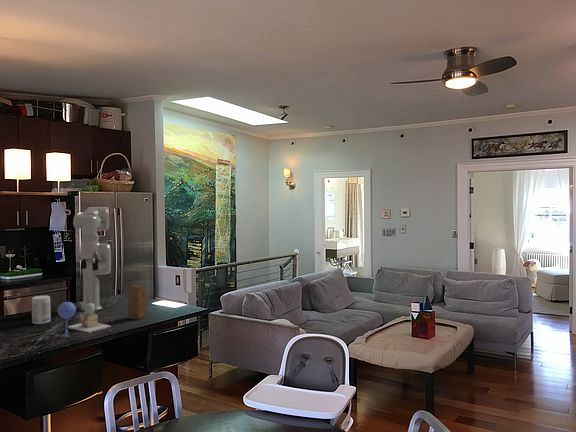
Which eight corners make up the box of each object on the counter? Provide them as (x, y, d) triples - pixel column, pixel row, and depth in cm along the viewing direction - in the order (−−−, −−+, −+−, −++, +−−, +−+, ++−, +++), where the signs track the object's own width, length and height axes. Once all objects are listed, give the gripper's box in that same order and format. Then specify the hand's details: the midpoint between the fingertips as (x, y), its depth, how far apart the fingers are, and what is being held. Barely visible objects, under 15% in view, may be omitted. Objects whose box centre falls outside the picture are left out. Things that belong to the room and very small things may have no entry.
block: (137, 320, 286) (137, 286, 286) (126, 319, 289) (126, 285, 288) (148, 316, 296) (148, 283, 296) (138, 315, 299) (138, 283, 298)
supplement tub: (50, 319, 285) (50, 294, 285) (50, 323, 277) (50, 297, 276) (32, 321, 281) (32, 296, 281) (31, 325, 273) (31, 299, 272)
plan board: (67, 327, 268) (67, 326, 268) (89, 322, 280) (89, 321, 280) (89, 332, 259) (89, 331, 259) (110, 327, 271) (110, 325, 271)
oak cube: (81, 326, 268) (81, 315, 268) (90, 323, 274) (90, 313, 273) (88, 327, 265) (88, 316, 265) (97, 325, 271) (97, 314, 270)
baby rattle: (61, 334, 255) (61, 300, 254) (78, 334, 256) (78, 300, 255) (54, 339, 246) (54, 303, 246) (72, 338, 247) (72, 303, 246)
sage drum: (83, 315, 269) (83, 304, 268) (90, 313, 273) (90, 303, 272) (88, 316, 266) (88, 305, 266) (96, 314, 270) (96, 304, 270)
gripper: (73, 238, 269) (73, 268, 270) (93, 239, 260) (93, 271, 261) (85, 237, 276) (85, 267, 276) (105, 238, 267) (105, 270, 267)
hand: (89, 269), depth 268 cm, fingers open, 9 cm apart
